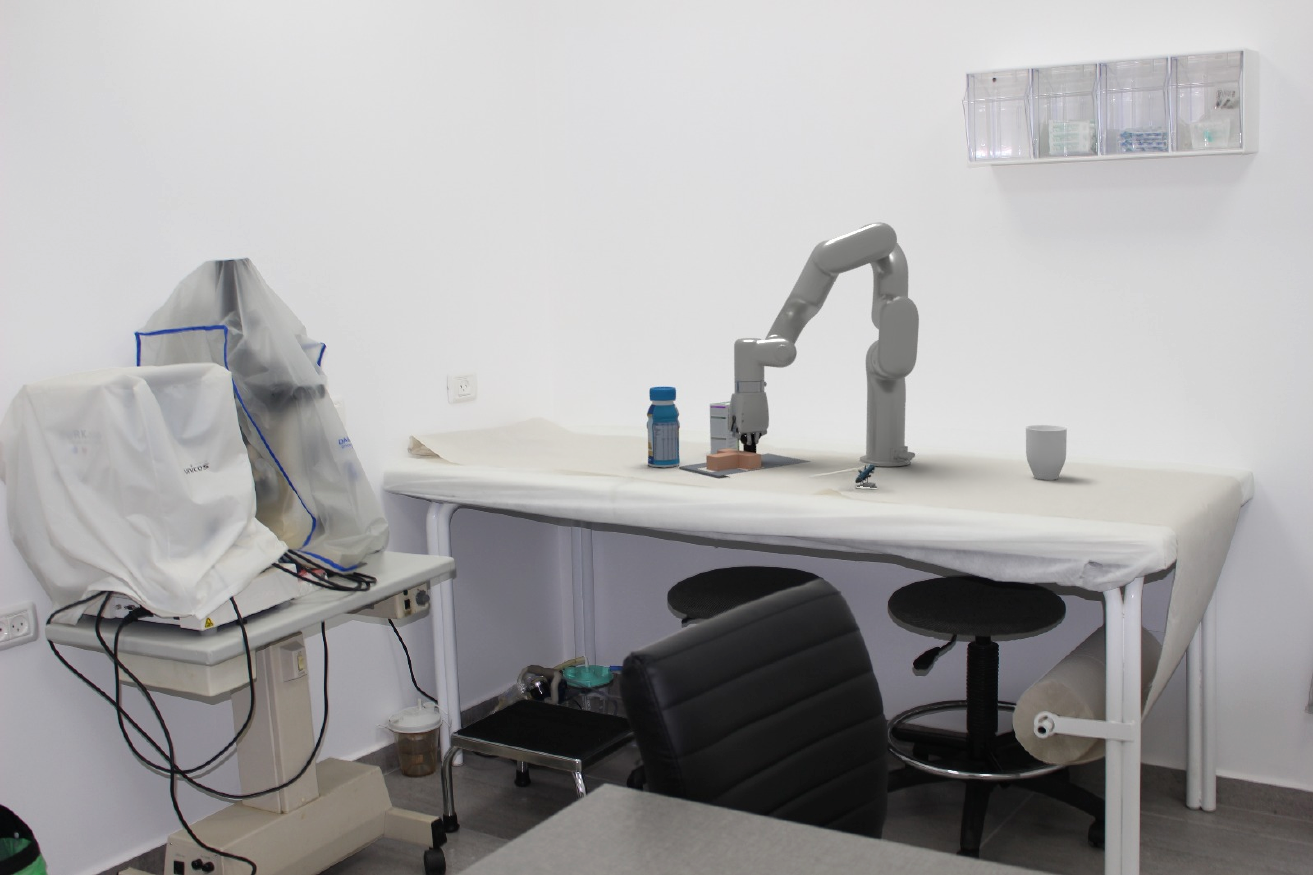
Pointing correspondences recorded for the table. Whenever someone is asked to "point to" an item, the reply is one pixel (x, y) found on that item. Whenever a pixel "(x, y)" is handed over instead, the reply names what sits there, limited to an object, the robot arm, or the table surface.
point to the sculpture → (866, 477)
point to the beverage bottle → (663, 428)
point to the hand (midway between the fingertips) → (749, 459)
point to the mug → (1046, 450)
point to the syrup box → (721, 428)
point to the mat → (766, 462)
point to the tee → (733, 460)
